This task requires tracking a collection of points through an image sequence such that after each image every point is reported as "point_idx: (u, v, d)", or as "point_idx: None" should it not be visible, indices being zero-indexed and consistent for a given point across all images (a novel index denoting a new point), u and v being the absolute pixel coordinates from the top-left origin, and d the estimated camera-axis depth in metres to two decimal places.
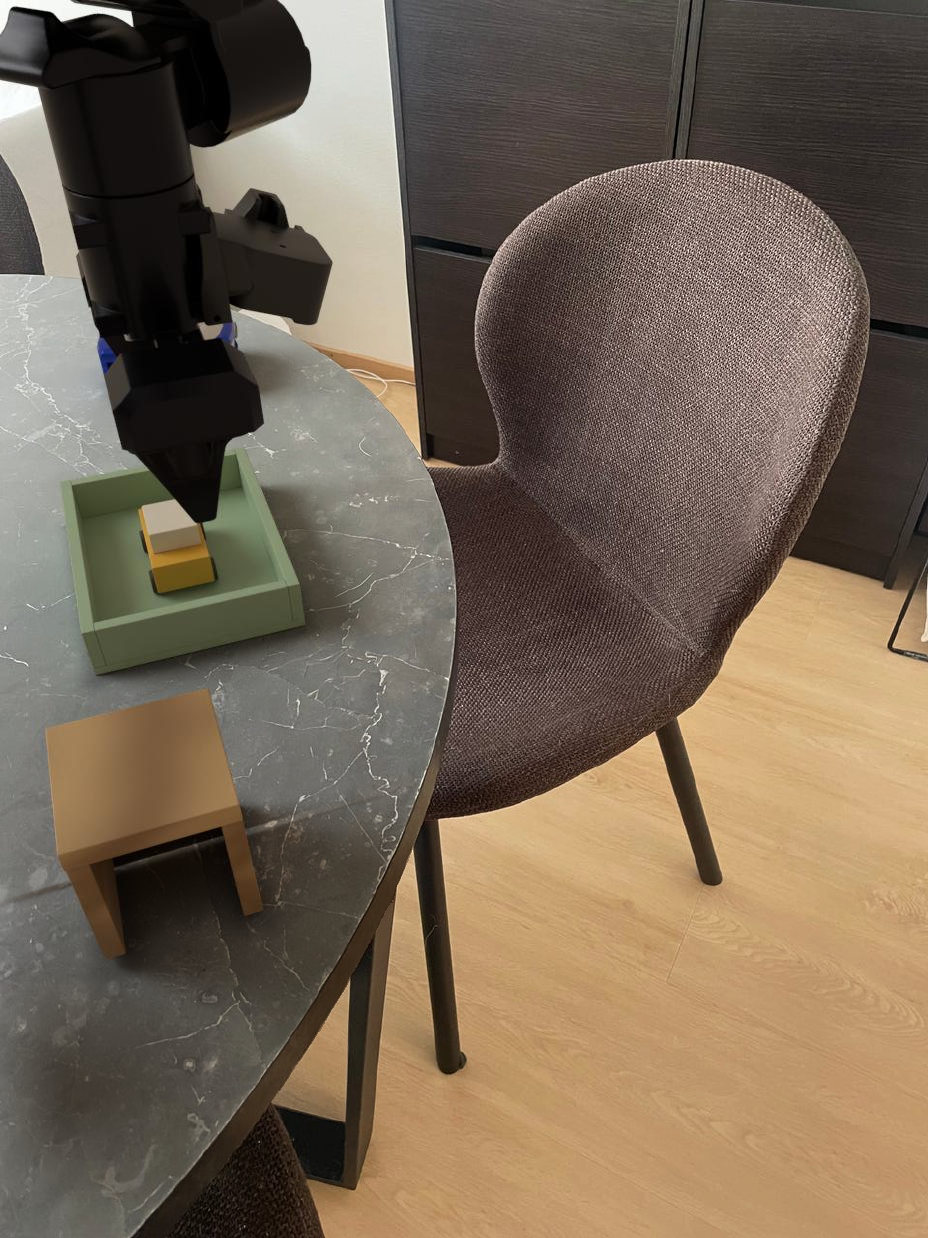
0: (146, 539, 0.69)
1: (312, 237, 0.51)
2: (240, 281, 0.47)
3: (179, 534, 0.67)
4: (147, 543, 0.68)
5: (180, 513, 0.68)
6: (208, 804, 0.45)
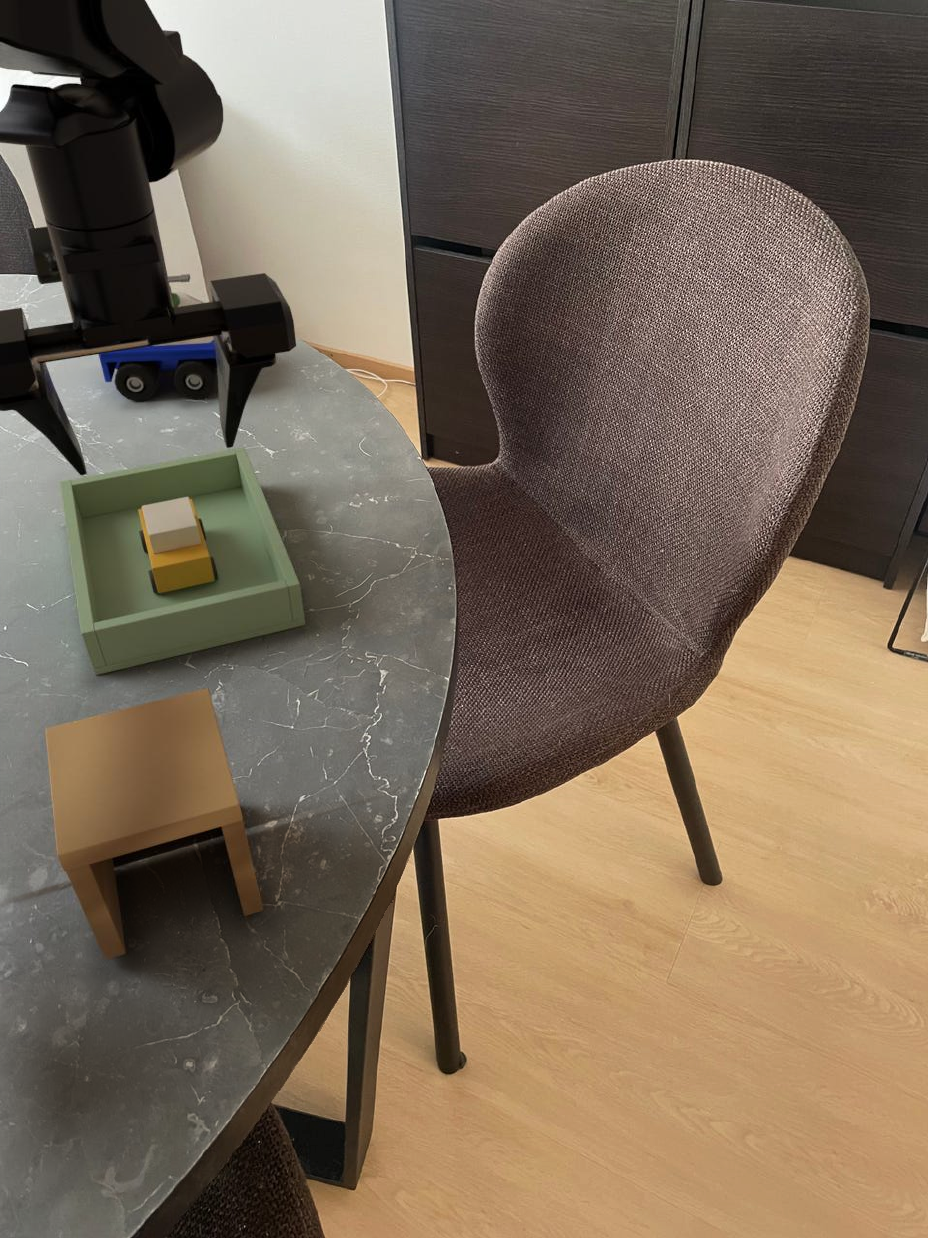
0: (146, 539, 0.69)
1: None
2: None
3: (179, 534, 0.67)
4: (147, 543, 0.68)
5: (180, 513, 0.68)
6: (208, 804, 0.45)
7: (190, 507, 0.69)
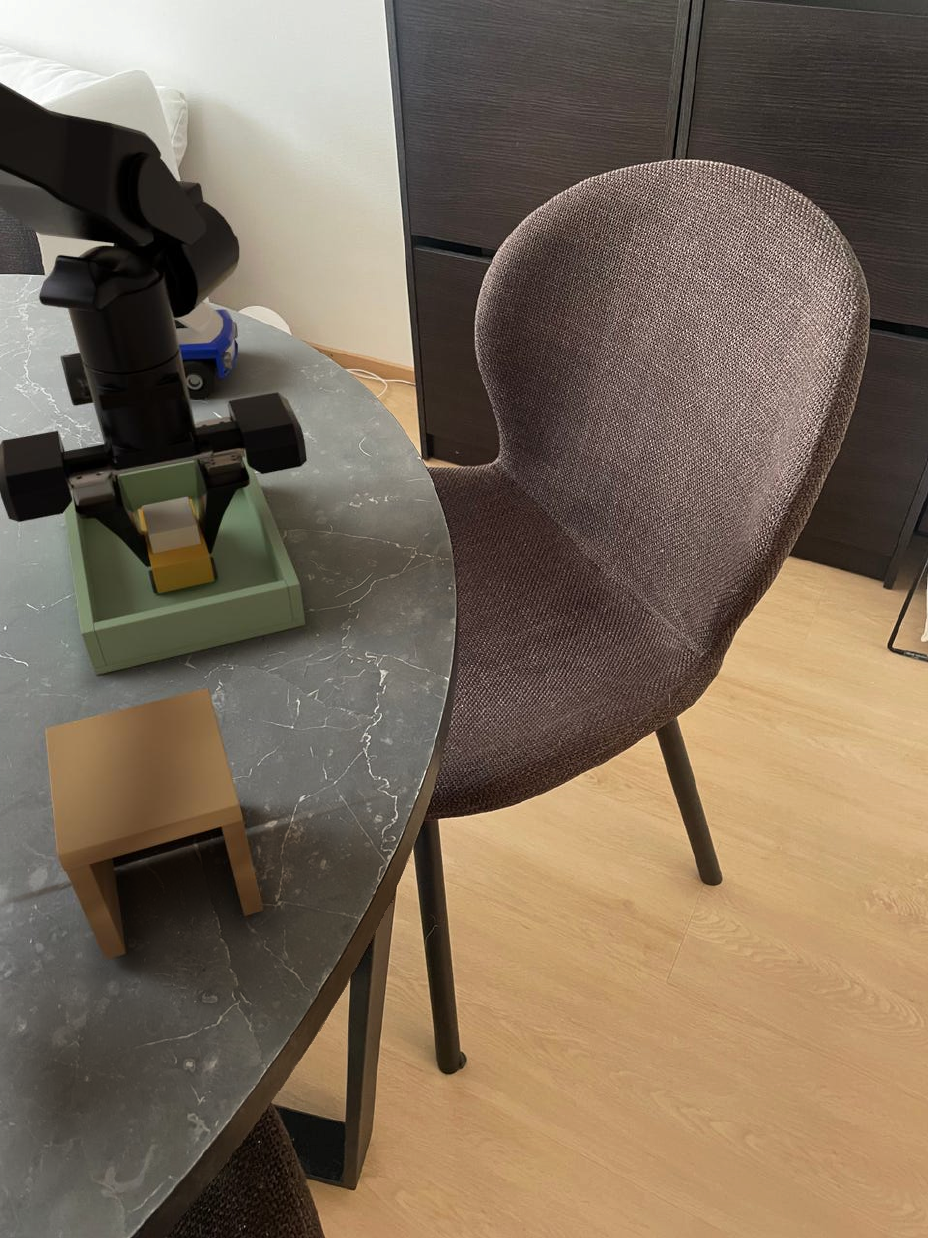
0: (146, 539, 0.69)
1: None
2: None
3: (179, 534, 0.67)
4: (147, 543, 0.68)
5: (180, 513, 0.68)
6: (208, 804, 0.45)
7: (190, 507, 0.69)
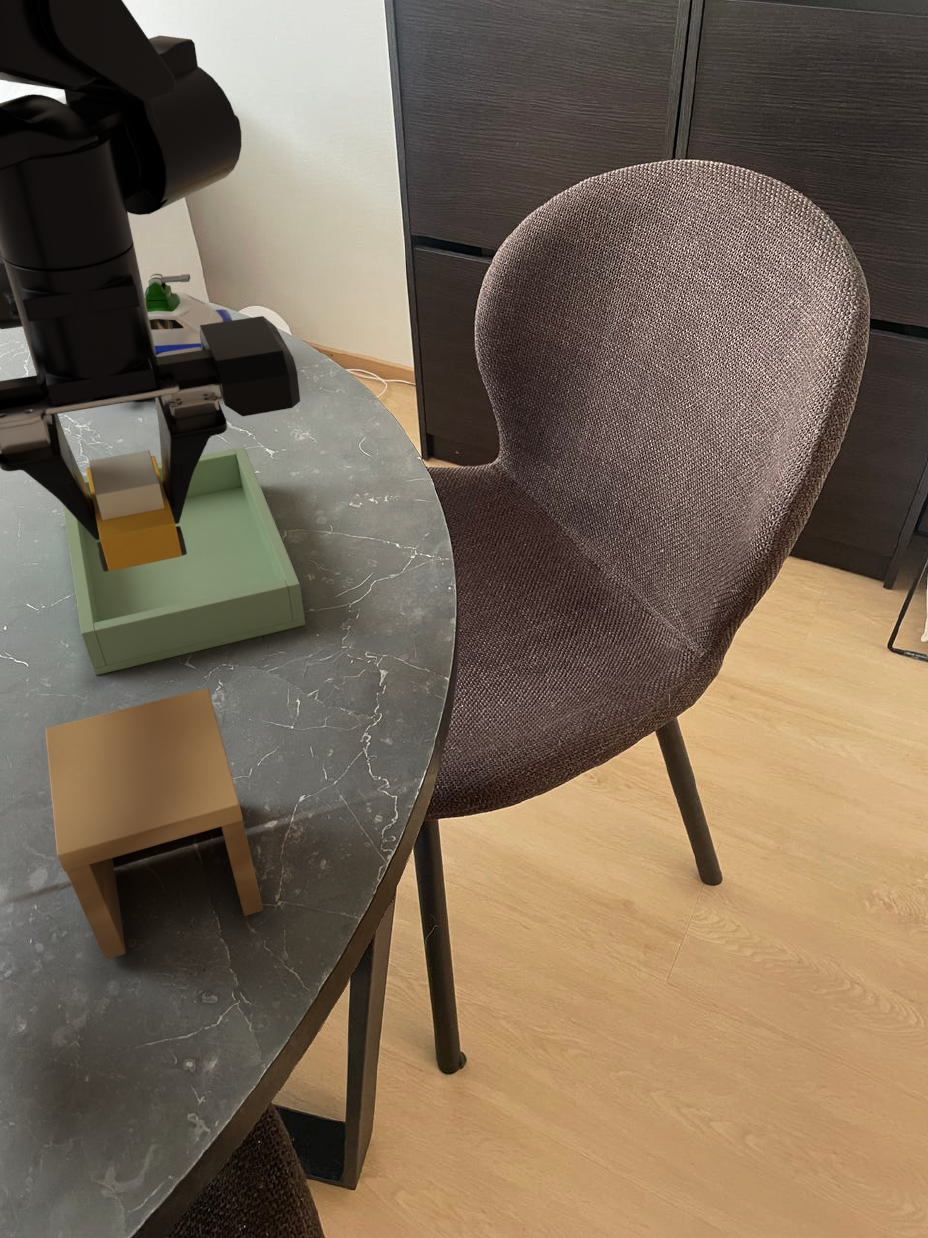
0: (94, 503, 0.54)
1: None
2: None
3: (136, 495, 0.52)
4: (95, 508, 0.53)
5: (137, 469, 0.53)
6: (208, 804, 0.45)
7: (151, 462, 0.54)
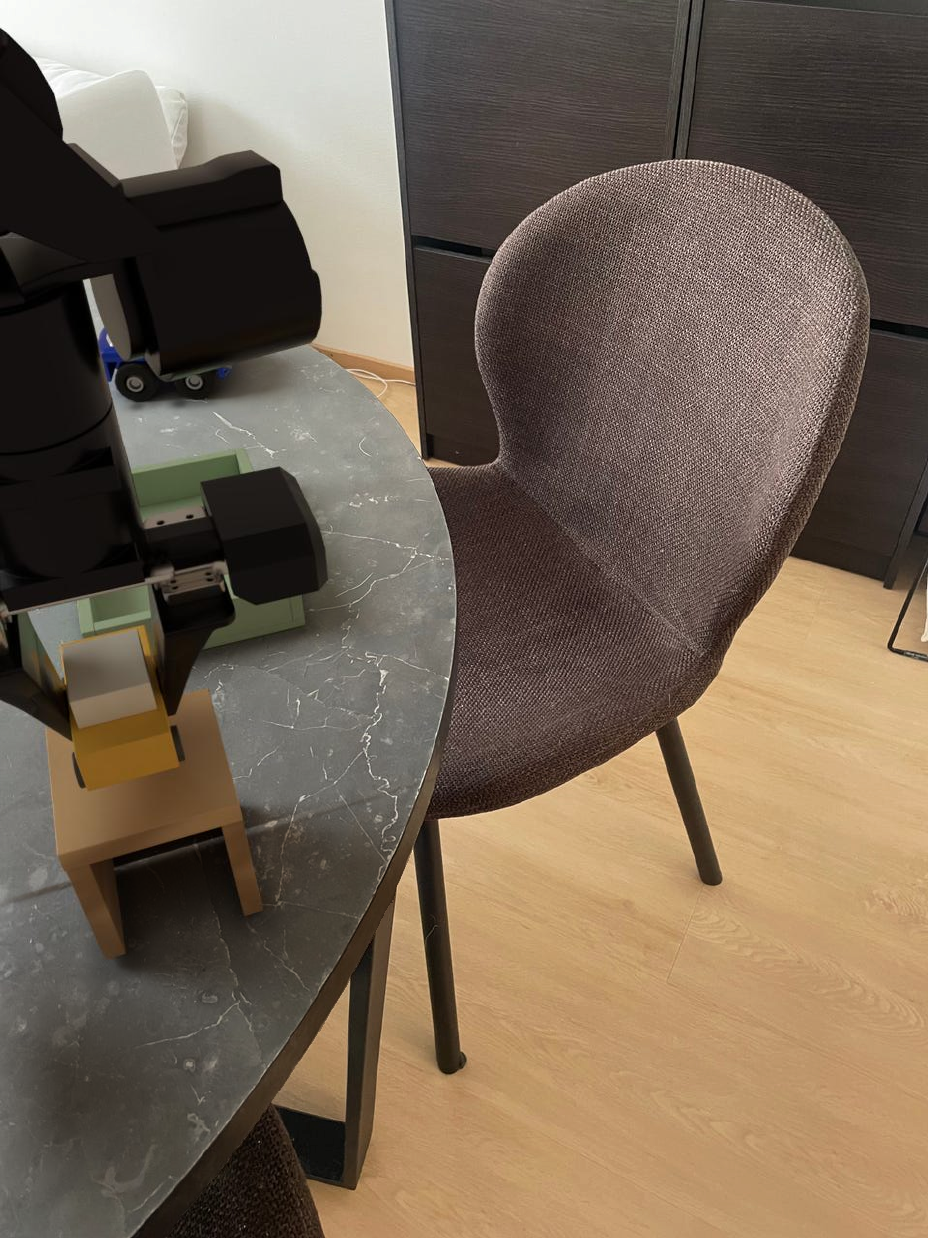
0: (69, 701, 0.43)
1: None
2: None
3: (120, 698, 0.41)
4: (70, 708, 0.42)
5: (123, 660, 0.42)
6: (208, 804, 0.45)
7: (140, 649, 0.43)
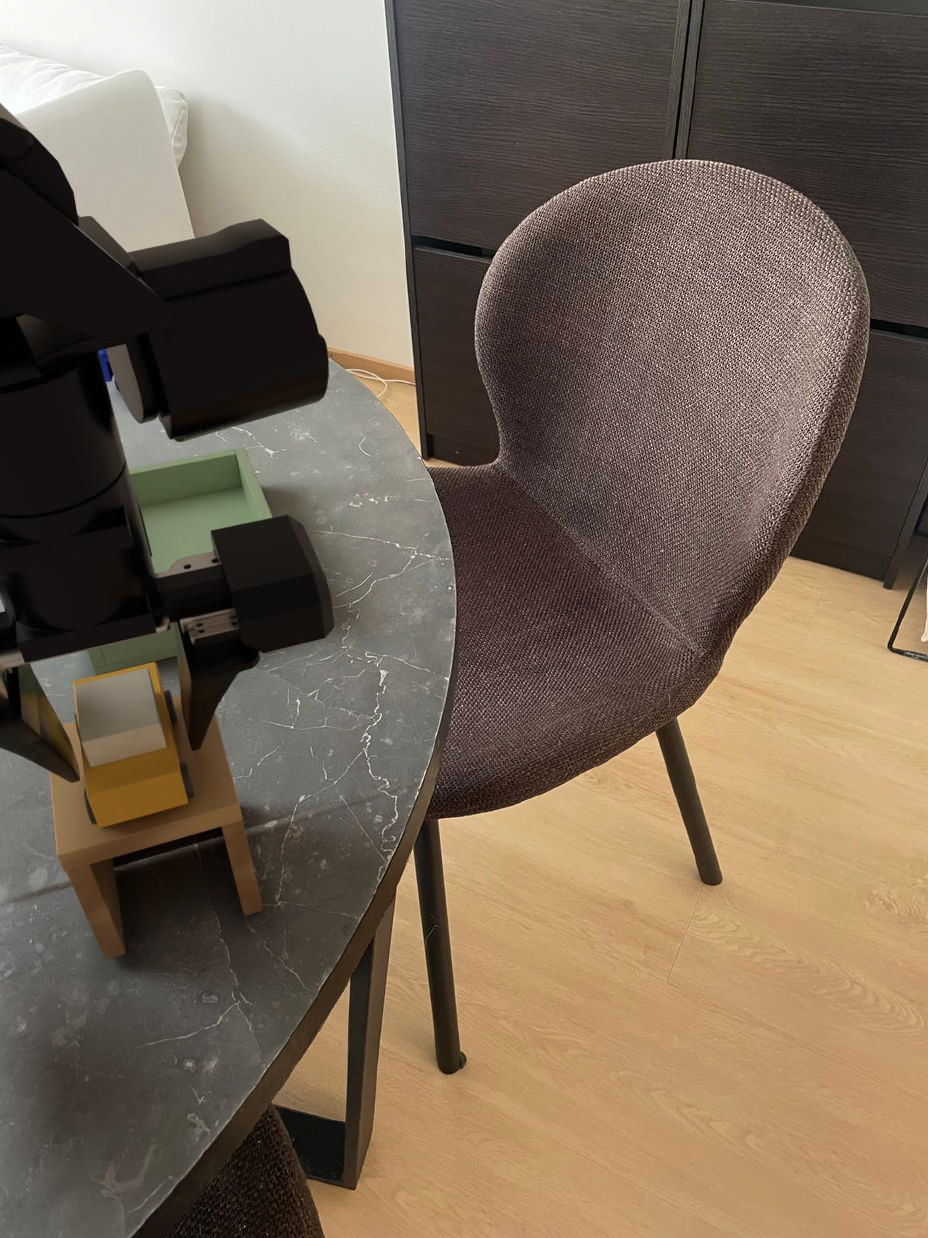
0: None
1: None
2: None
3: (131, 738, 0.42)
4: (82, 747, 0.44)
5: (134, 700, 0.43)
6: (208, 804, 0.45)
7: (150, 688, 0.44)
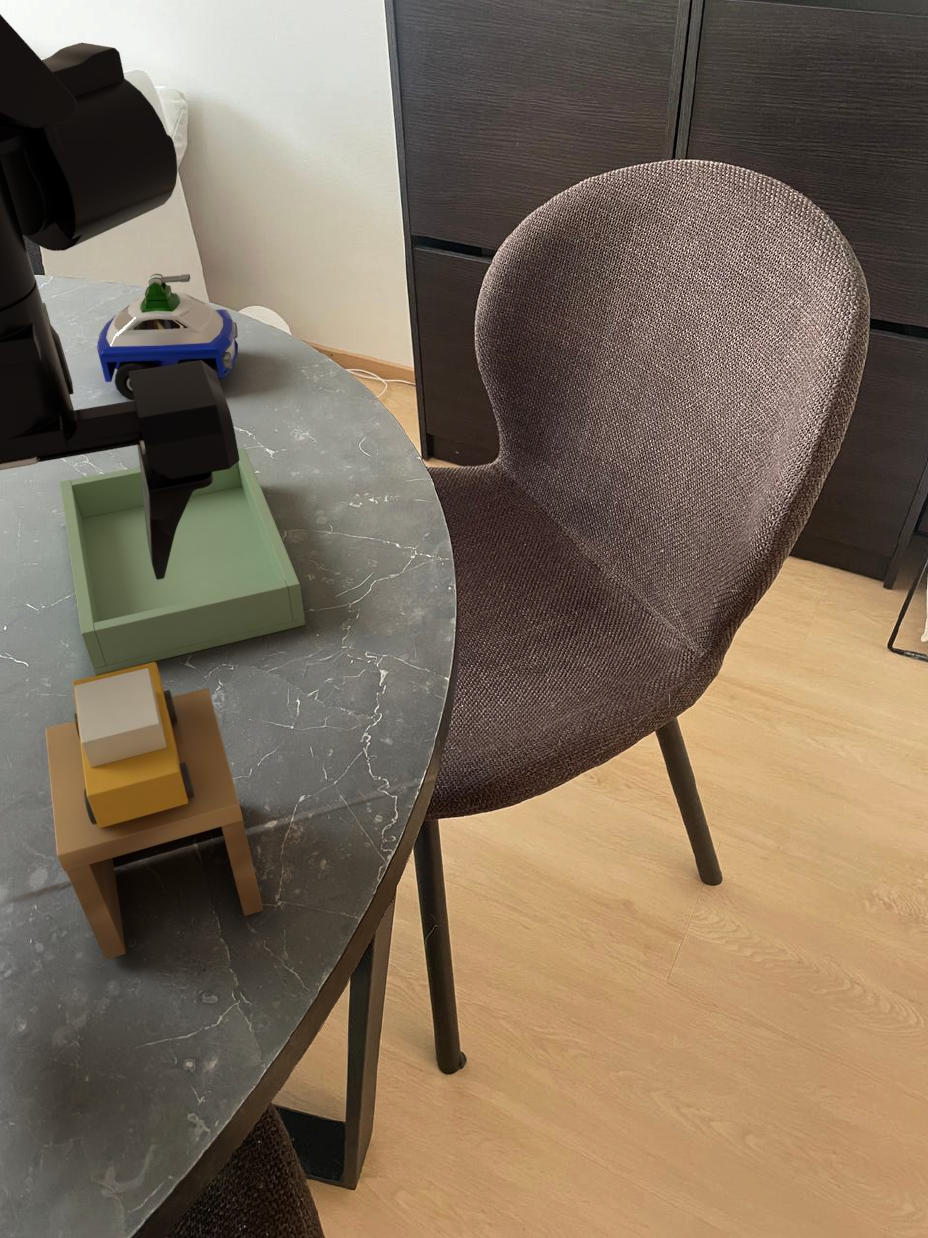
0: None
1: None
2: None
3: (131, 738, 0.42)
4: (82, 747, 0.44)
5: (134, 700, 0.43)
6: (208, 804, 0.45)
7: (150, 688, 0.44)
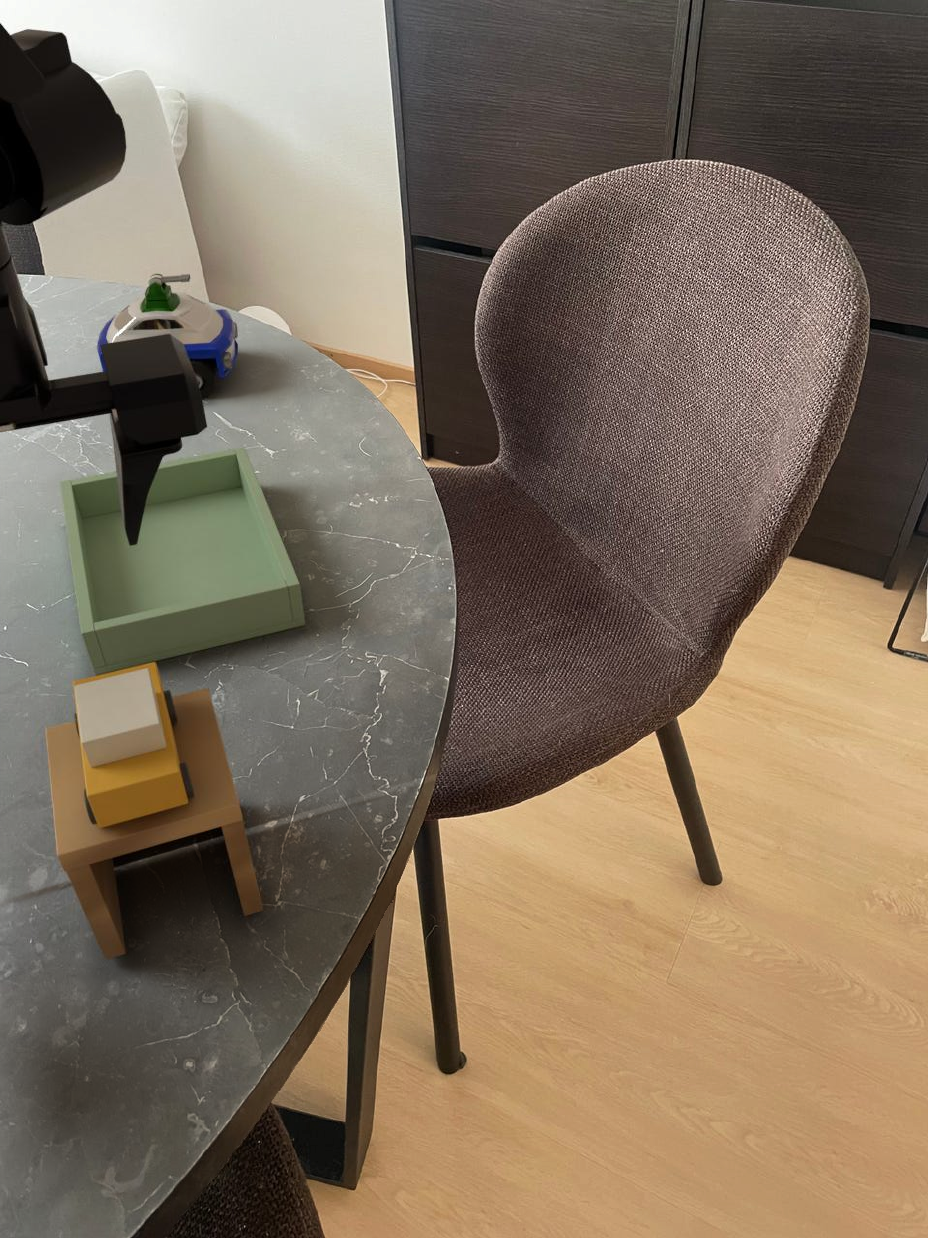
0: None
1: None
2: None
3: (131, 738, 0.42)
4: (82, 747, 0.44)
5: (134, 700, 0.43)
6: (208, 804, 0.45)
7: (150, 688, 0.44)
